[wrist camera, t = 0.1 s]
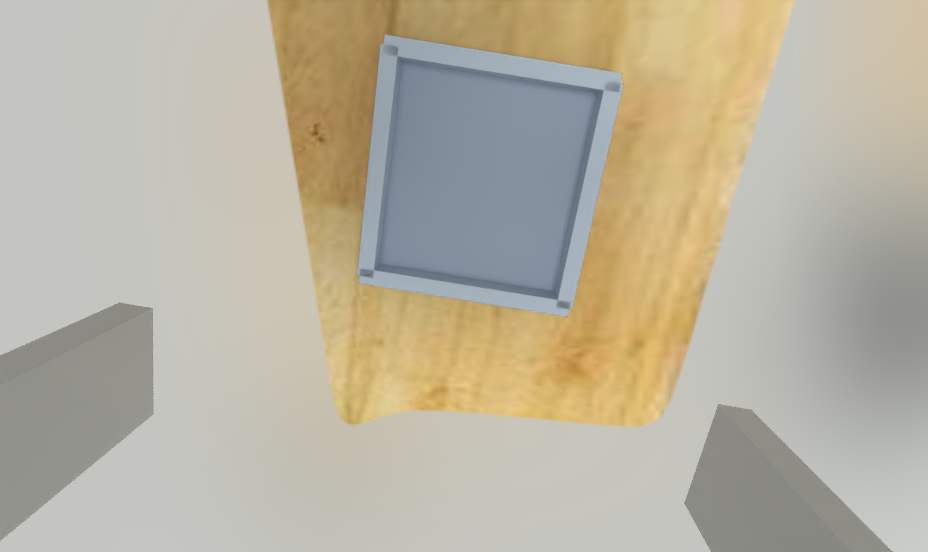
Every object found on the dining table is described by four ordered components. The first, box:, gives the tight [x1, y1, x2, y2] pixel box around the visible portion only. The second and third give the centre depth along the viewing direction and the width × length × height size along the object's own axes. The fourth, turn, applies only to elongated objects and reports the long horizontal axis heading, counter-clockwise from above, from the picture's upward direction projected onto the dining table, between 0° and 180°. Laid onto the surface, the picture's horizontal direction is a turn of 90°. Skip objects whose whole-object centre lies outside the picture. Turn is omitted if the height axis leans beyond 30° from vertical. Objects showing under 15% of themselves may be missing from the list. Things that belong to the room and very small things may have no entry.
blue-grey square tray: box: [357, 35, 624, 317], centre depth 36 cm, size 18×16×3 cm
